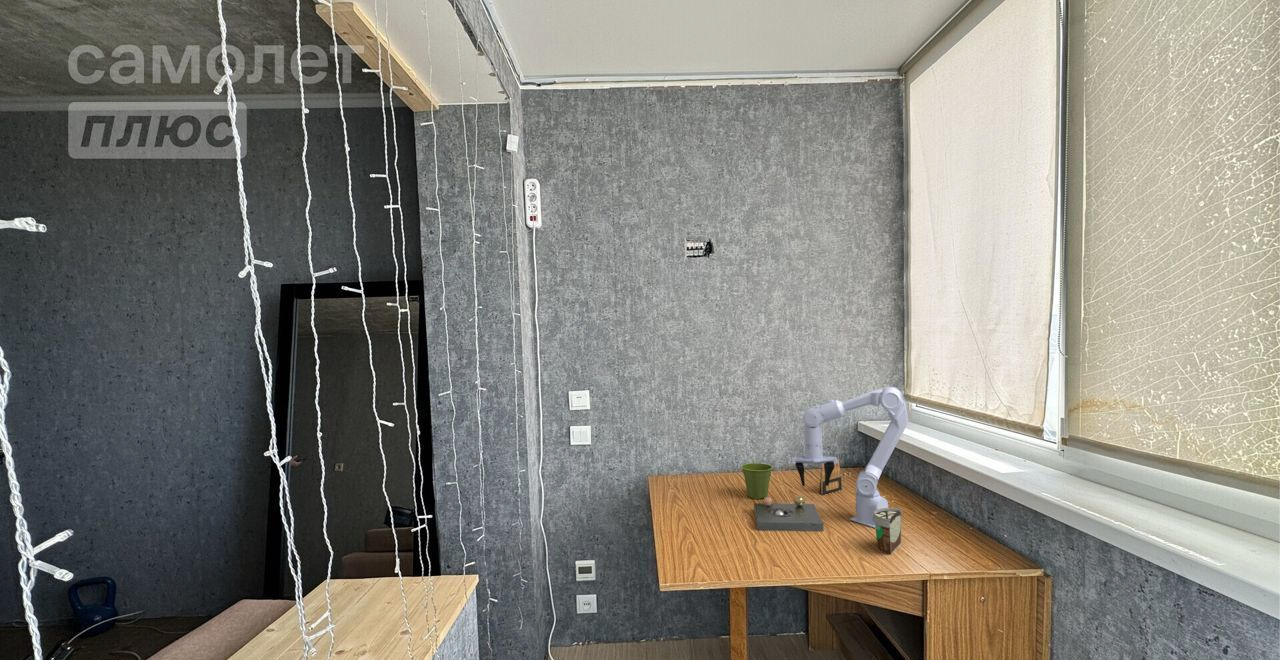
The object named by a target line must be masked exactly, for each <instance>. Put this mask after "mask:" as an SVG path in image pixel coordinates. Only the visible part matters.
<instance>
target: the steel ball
mask: <svg viewBox="0 0 1280 660" xmlns="http://www.w3.org/2000/svg"><path fill="white" fill-rule="evenodd" d="M775 514H777V515H784V512H783V511H780V510H778V511H776V512H775Z"/></svg>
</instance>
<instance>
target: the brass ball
mask: <svg viewBox="0 0 1280 660" xmlns="http://www.w3.org/2000/svg"><path fill="white" fill-rule="evenodd" d="M793 502H794V503H793V504H796V505H797V506H803V505H804V504H806V500H805V497H804V496H802V495H799V494H798V495H795V497H794V498H793Z"/></svg>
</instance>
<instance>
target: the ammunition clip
mask: <svg viewBox="0 0 1280 660" xmlns="http://www.w3.org/2000/svg"><path fill="white" fill-rule="evenodd" d="M834 465H835V467H834V469H833V471H832V473H831V476H830V479H829V485H828V486H826V485H825V467H824V463H820V480H819V494H820V495H821V494H822V496H826V495H825V494H827V495H830V494H833V493H835V492H836V491H837V492H840V491H842V490H843V488H842V476H841V468H840V461H839V458H837V464H834ZM839 490H840V491H839ZM832 492H833V493H832ZM829 493H830V494H829Z"/></svg>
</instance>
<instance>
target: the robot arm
mask: <svg viewBox="0 0 1280 660" xmlns="http://www.w3.org/2000/svg"><path fill="white" fill-rule="evenodd" d="M868 405H870V406H874V407H878V408H879V407H880V405H881V406H882V408H883V410H885V411H886V412H887V414H888V417H889V419H890V422H889V424H888V426H887V428H886V429H885V431H884V434H883V435H882V437H881V439H880V441H879V443H878V445H877V447H876V448H875V450H874V452H873V454H872V456H871V458H870V459H869V462H867V465H866V466H865V468H864V469H862V470H861V471H860V472H859V473H858V474H857V480H856V482H855V489H856V490H855V493H854V494H855V516H854V517H850V518H849V520H850V521H852V522H855V523H858V524H861V525H864V526H867V527H870V528H874V529H876V528H875V523H874V522H873V520H872V518H873V514H874V512H875V511H876V510H878V509H881V508H889V502H888V499H886V498H885V497H883V496H882V495H881V494H880V491H879V490H878V483H879V479H880V476H881V475H882V472H883V470H884V469H885V466H886V465H887V463H888V460H889V459H890V457H891V455H892V454H893V451H894V450H895V448H896V446H897V444H898V442H899V441H900V439H901V437H902V435H903V434H904V431H905V430H906V428H907V426H908V425H909V416H908V411H907V406H906V405H907V404H906V399H905V397H904V395H903V394H902V392H901V390H900V389H899V388H897V387H894V386H888V387H885V388H884V389H883V388H879V389H876V390H873V391H872V390H871V391H869V392H866V393H863V394H861V395H860V394H859V395H858V396H855V397H853V398H850V399H848V400H844V401H840V400H839V399H836V400H834V399H833V398H831V399H830V400H828V402H826V403H823V404H820V405H818V404H816V405H815V406H814V407H809V408H808V409H807V410H806V411H804V412H803V415H802V421H803V424H804V425H803V427H804V431H803V433H804V456H803V455H802V456H795V457H794V456H791V464H792V465H795V467H796V469H797V473H798V474H799V478H800V481H801V485H802V487H805V486H806V483H805V482H806V481H805V466H804V464H822V463H823V465H824V467H825V485H826V486H828V485H829V479H830V476H831V473H832V471H833V469H834V467H835V465H834V464H837V459H838V457H836V456H830V455H829V456H826V455H824V451H823V450H824V447H823V446H824V445H823V430H822V423H827V422H831V421H833V420H837V419H840V418H843V417H844V416H845V414H846V412H849V411H851V410H855V409H859V408H862V407H865V406H868Z"/></svg>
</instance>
